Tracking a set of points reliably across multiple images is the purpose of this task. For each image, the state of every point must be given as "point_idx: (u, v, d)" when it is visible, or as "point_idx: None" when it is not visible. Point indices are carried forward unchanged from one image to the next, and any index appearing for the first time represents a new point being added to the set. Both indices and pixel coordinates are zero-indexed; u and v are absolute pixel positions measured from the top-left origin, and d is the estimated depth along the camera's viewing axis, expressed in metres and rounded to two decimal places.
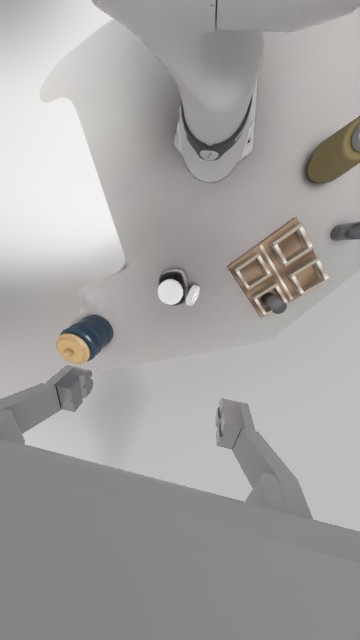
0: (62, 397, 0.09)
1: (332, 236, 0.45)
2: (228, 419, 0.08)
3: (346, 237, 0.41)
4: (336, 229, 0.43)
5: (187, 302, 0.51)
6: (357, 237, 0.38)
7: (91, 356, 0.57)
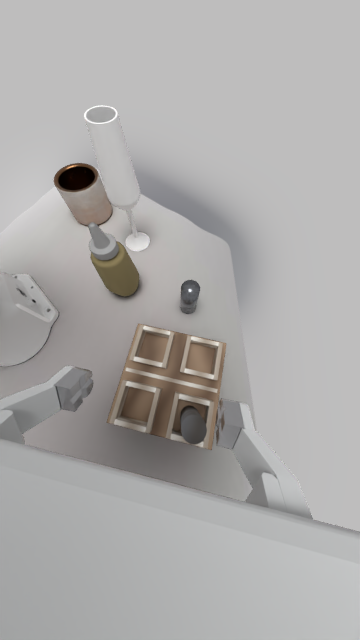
0: (62, 397, 0.09)
1: (185, 312, 0.40)
2: (228, 419, 0.08)
3: (189, 304, 0.36)
4: (180, 306, 0.40)
5: None
6: (191, 298, 0.33)
7: None
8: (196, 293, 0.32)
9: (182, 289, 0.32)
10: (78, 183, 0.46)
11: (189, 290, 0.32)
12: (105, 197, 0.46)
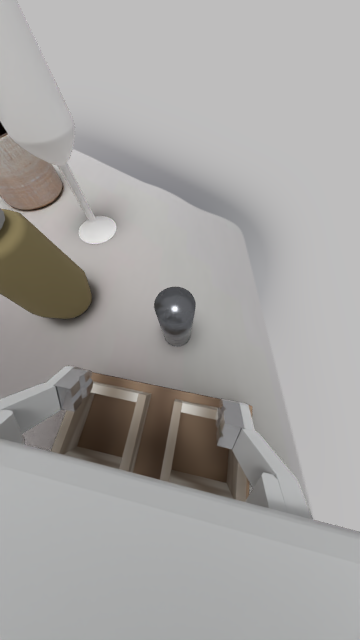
0: (62, 397, 0.09)
1: (172, 344, 0.22)
2: (228, 419, 0.08)
3: (176, 335, 0.18)
4: None
5: None
6: (177, 326, 0.15)
7: None
8: (187, 315, 0.15)
9: (157, 308, 0.15)
10: None
11: (171, 309, 0.15)
12: (43, 162, 0.29)
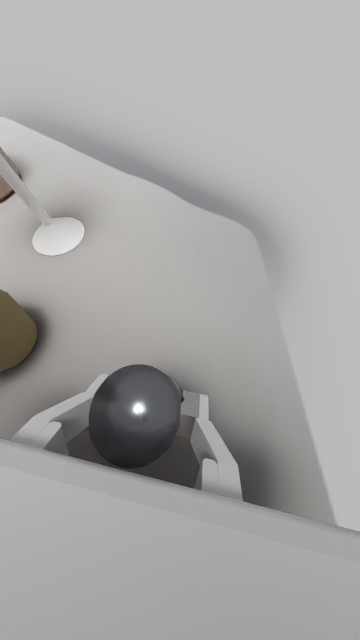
0: None
1: None
2: (184, 409, 0.09)
3: None
4: None
5: None
6: None
7: None
8: (161, 443, 0.06)
9: (94, 420, 0.07)
10: None
11: (125, 425, 0.07)
12: None
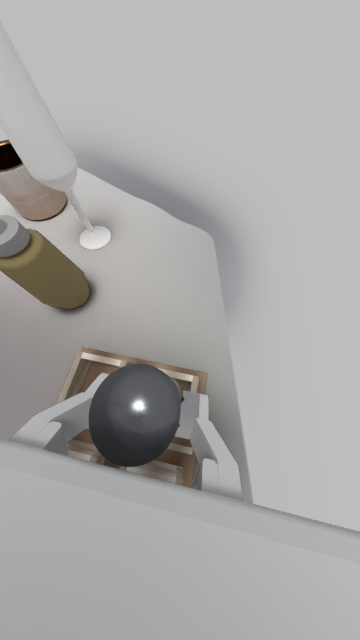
0: None
1: None
2: (184, 409, 0.09)
3: None
4: None
5: None
6: None
7: None
8: (162, 442, 0.06)
9: (94, 419, 0.07)
10: None
11: (125, 424, 0.07)
12: None
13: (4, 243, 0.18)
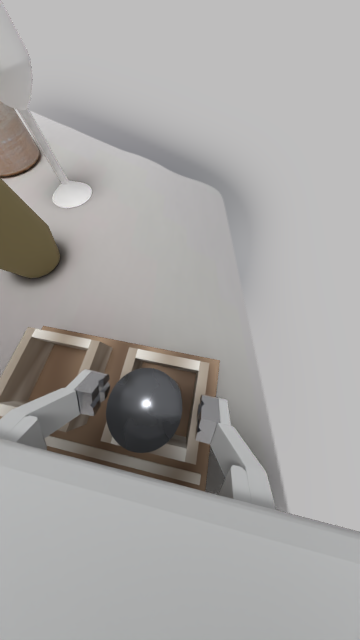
0: (82, 402, 0.09)
1: None
2: (205, 414, 0.08)
3: None
4: None
5: None
6: None
7: None
8: (167, 433, 0.08)
9: (110, 414, 0.08)
10: None
11: (137, 418, 0.08)
12: (16, 124, 0.28)
13: None
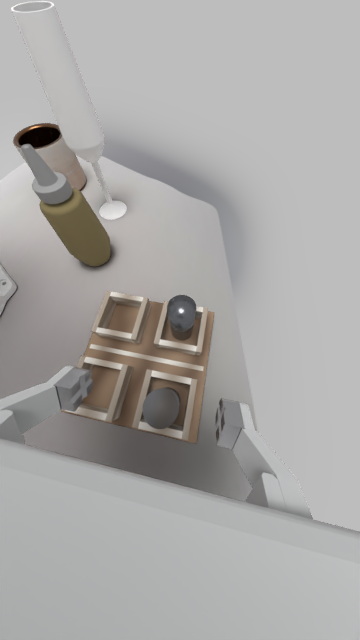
0: (62, 397, 0.09)
1: (178, 338, 0.28)
2: (228, 419, 0.08)
3: (181, 331, 0.24)
4: (171, 330, 0.28)
5: None
6: (183, 323, 0.21)
7: None
8: (191, 316, 0.20)
9: (168, 310, 0.21)
10: None
11: (179, 311, 0.21)
12: (75, 162, 0.41)
13: (56, 190, 0.23)
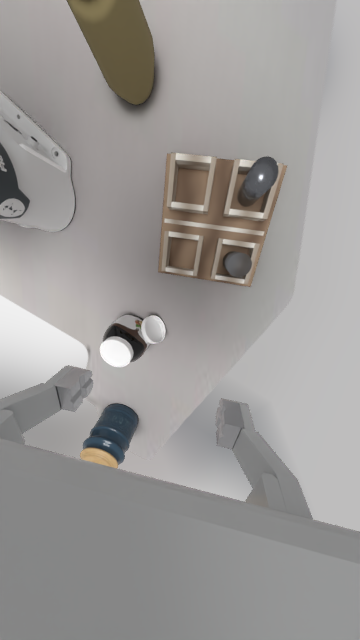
0: (62, 397, 0.09)
1: (244, 205, 0.30)
2: (228, 419, 0.08)
3: (254, 199, 0.26)
4: (238, 197, 0.29)
5: (151, 342, 0.39)
6: (261, 193, 0.23)
7: (120, 456, 0.49)
8: (271, 184, 0.22)
9: (249, 179, 0.22)
10: None
11: (260, 179, 0.22)
12: None
13: None
